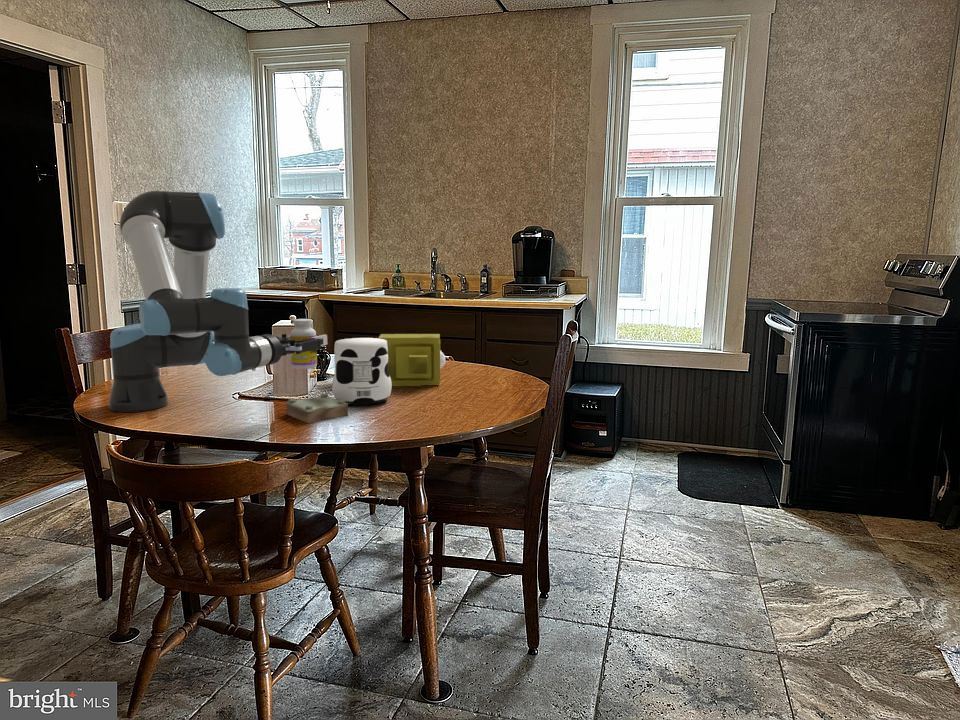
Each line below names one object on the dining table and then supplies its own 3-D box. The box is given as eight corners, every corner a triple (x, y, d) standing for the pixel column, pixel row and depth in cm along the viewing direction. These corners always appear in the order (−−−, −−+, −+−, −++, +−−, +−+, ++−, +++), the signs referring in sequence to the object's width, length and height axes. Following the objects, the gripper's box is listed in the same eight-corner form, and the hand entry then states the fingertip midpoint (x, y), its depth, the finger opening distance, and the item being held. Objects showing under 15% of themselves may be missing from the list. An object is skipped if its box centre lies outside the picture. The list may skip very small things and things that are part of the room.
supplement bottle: (313, 369, 179) (311, 321, 176) (288, 369, 179) (286, 320, 177) (320, 365, 185) (318, 318, 183) (296, 365, 185) (294, 318, 183)
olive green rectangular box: (445, 333, 230) (445, 340, 214) (445, 380, 233) (445, 390, 217) (341, 333, 228) (333, 341, 212) (342, 380, 231) (334, 391, 215)
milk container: (365, 392, 214) (363, 335, 211) (404, 400, 203) (403, 341, 200) (320, 402, 201) (318, 341, 197) (359, 411, 190) (357, 347, 187)
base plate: (307, 423, 177) (307, 407, 177) (287, 414, 186) (286, 399, 185) (347, 415, 185) (347, 401, 184) (326, 407, 194) (325, 393, 193)
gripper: (228, 364, 168) (284, 350, 189) (295, 368, 162) (346, 354, 183) (226, 333, 167) (283, 323, 188) (294, 337, 160) (345, 326, 182)
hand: (314, 338), depth 185 cm, fingers closed on supplement bottle, 7 cm apart
